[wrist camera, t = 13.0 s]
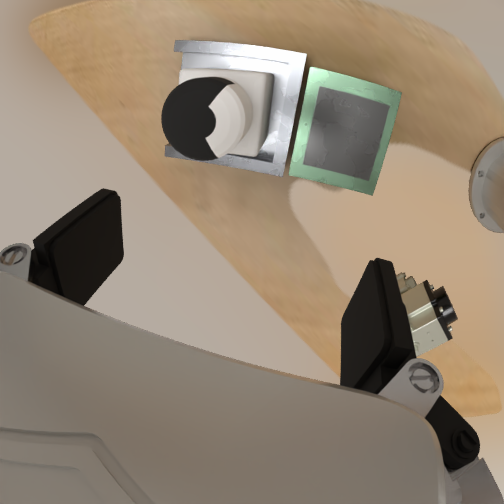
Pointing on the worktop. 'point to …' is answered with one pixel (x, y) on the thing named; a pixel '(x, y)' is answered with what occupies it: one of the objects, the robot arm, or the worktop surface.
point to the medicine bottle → (218, 112)
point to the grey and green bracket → (307, 116)
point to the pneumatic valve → (426, 313)
